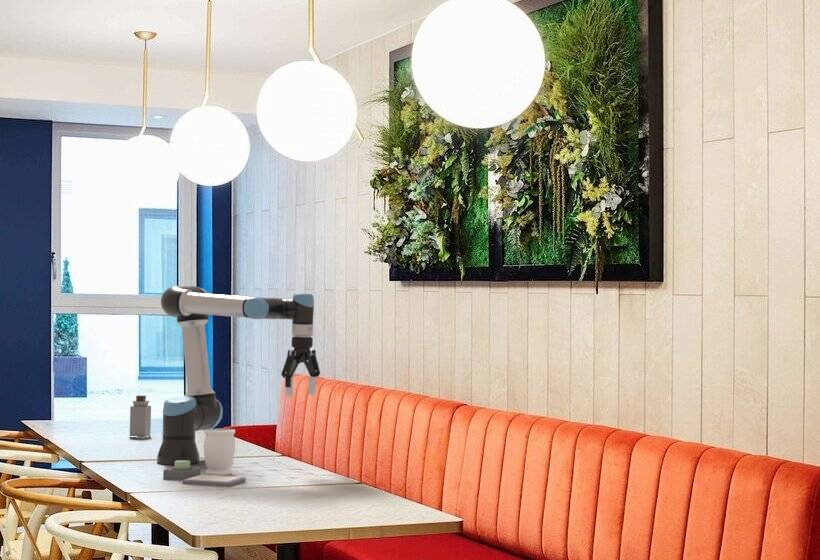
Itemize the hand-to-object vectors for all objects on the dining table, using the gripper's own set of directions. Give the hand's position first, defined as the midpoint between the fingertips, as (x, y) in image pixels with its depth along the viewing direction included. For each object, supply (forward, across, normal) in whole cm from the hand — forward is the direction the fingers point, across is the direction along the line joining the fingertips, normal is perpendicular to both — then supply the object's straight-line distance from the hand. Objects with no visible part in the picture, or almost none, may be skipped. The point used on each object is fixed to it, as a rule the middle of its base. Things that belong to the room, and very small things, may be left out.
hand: (300, 395), depth 400 cm
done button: (+23, -46, +14) cm, 53 cm away
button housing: (+26, -46, +14) cm, 54 cm away
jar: (+26, -31, +10) cm, 42 cm away
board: (+26, -47, -1) cm, 53 cm away
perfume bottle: (+27, +33, +109) cm, 117 cm away
